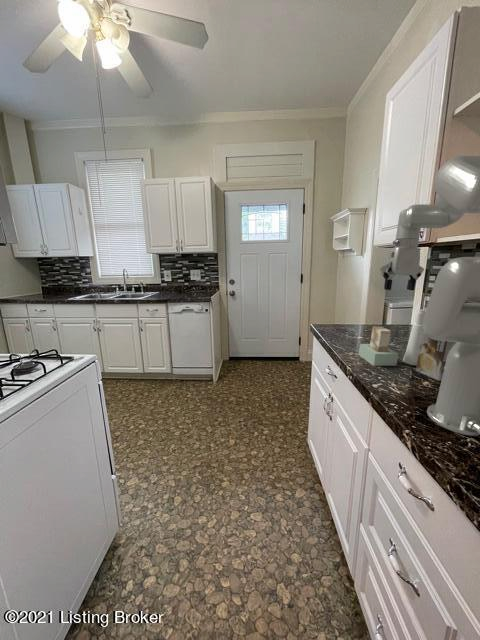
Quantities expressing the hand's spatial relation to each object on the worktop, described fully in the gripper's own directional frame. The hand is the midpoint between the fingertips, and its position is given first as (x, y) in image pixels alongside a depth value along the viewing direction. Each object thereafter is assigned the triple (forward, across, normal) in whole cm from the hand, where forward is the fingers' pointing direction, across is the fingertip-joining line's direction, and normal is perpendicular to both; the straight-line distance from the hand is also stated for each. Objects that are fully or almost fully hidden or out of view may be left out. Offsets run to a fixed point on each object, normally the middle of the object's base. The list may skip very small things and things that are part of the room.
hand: (398, 289), depth 104 cm
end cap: (+29, -4, 0) cm, 30 cm away
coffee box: (+30, +8, -14) cm, 34 cm away
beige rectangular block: (+28, -4, 0) cm, 28 cm away
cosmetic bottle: (+30, +8, -3) cm, 31 cm away
